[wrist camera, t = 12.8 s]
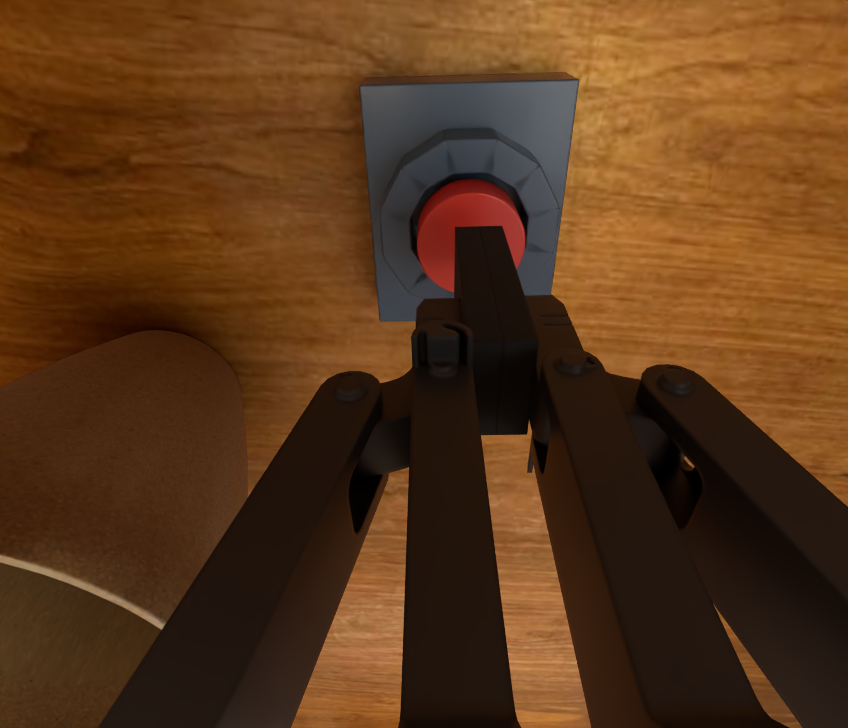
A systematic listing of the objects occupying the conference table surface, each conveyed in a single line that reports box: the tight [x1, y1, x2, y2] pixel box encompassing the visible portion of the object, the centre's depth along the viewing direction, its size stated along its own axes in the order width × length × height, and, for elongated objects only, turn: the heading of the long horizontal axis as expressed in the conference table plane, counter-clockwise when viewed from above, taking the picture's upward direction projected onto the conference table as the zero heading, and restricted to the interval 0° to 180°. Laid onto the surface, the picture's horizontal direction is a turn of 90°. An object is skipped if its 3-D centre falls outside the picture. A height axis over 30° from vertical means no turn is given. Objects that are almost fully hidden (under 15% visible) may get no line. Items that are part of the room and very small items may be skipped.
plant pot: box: [0, 330, 248, 728], centre depth 23 cm, size 15×15×16 cm
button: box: [417, 178, 525, 292], centre depth 20 cm, size 4×4×2 cm
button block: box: [359, 72, 579, 321], centre depth 22 cm, size 10×8×4 cm
